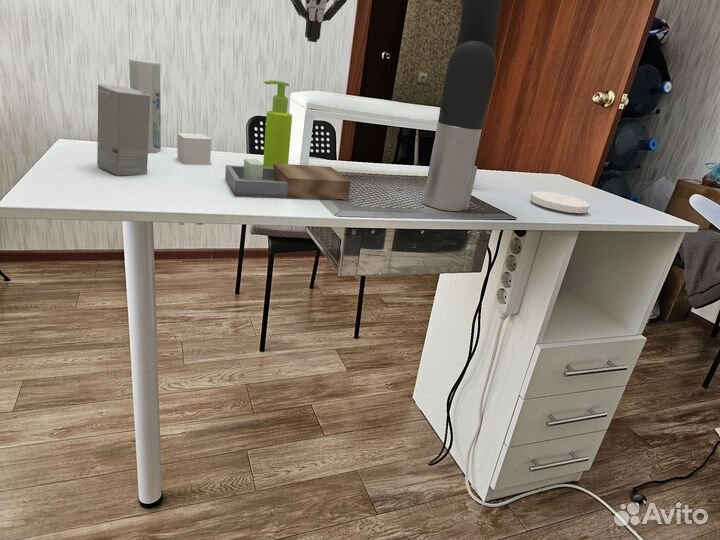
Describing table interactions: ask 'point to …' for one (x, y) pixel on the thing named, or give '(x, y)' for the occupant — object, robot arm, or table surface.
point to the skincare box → (123, 130)
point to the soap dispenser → (277, 129)
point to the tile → (252, 170)
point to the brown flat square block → (312, 182)
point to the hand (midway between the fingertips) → (312, 41)
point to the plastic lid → (559, 202)
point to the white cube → (193, 149)
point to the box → (255, 184)
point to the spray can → (148, 82)
